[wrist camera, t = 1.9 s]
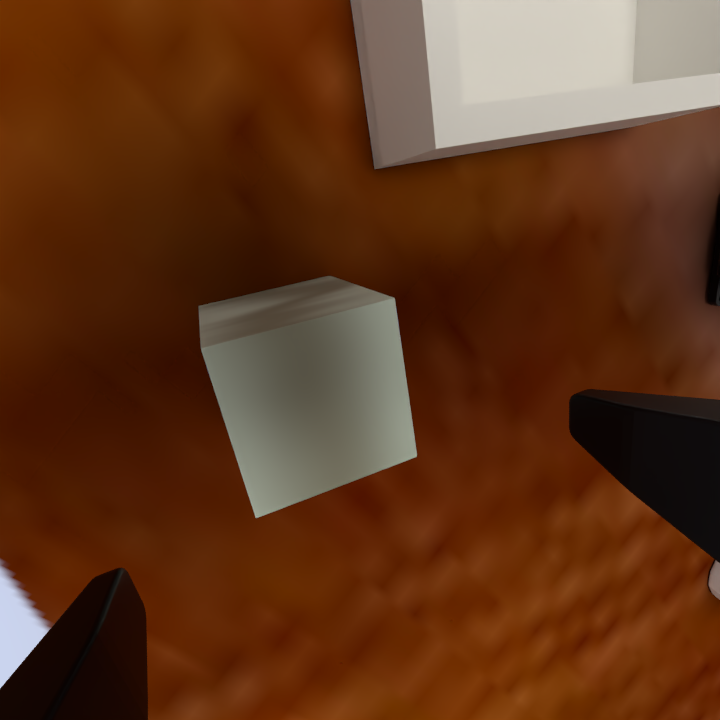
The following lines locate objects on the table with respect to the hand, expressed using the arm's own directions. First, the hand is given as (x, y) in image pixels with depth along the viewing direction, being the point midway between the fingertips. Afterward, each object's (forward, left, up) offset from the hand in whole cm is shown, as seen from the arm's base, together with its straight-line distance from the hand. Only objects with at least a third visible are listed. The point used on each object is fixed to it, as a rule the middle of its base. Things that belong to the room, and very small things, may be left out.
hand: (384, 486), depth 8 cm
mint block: (0, 0, -10) cm, 10 cm away
